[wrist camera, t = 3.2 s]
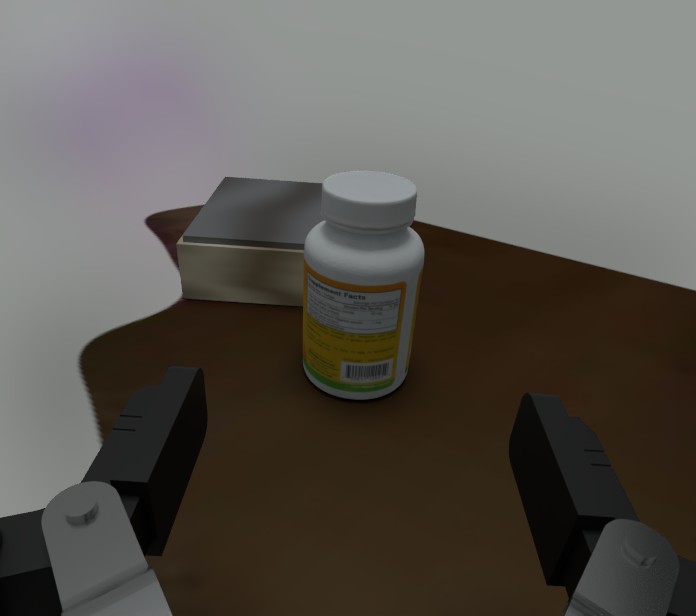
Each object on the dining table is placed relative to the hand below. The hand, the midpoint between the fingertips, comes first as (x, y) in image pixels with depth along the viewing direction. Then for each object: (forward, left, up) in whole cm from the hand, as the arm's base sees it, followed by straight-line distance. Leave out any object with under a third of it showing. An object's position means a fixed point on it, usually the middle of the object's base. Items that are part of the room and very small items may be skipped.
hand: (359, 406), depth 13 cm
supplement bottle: (0, -11, -8) cm, 14 cm away
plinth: (+5, -22, -8) cm, 24 cm away
